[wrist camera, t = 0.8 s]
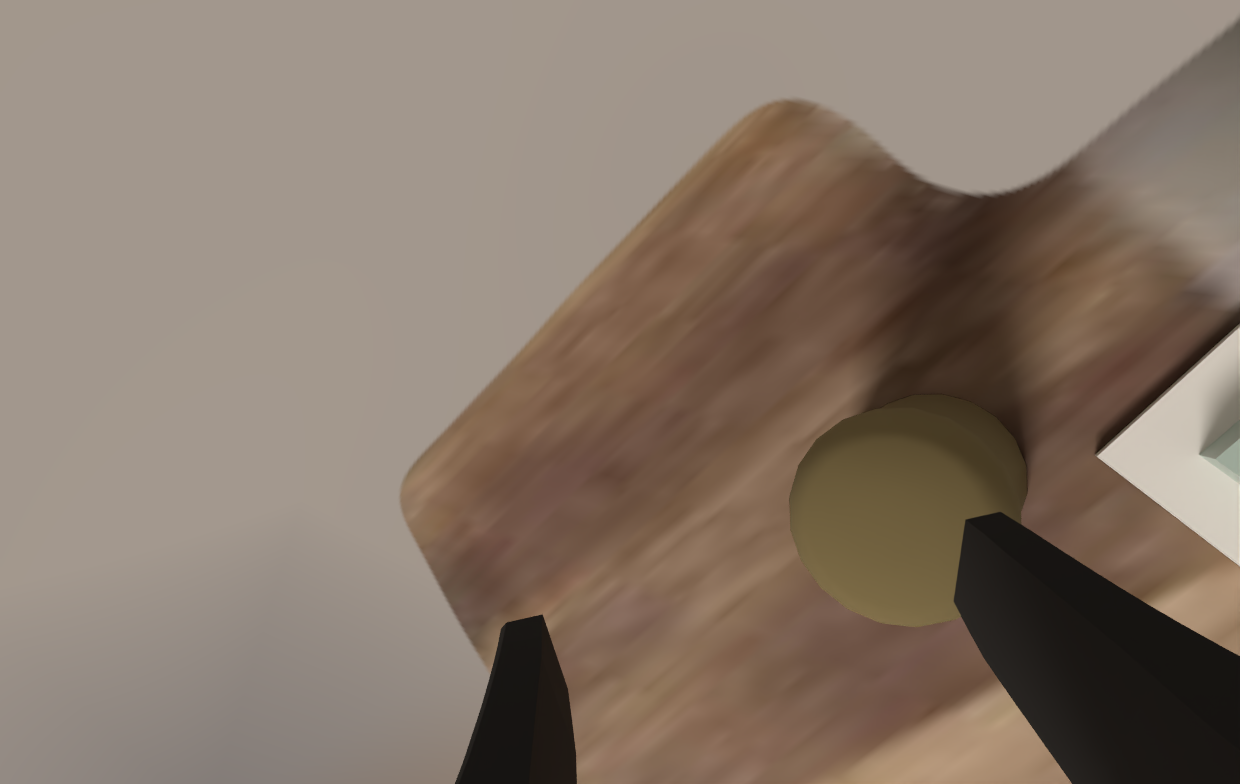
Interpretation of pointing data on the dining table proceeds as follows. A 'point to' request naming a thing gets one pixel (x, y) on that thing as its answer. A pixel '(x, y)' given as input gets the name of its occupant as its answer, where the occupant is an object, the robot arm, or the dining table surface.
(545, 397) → the dining table surface
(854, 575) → the cork
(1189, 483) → the socket block
